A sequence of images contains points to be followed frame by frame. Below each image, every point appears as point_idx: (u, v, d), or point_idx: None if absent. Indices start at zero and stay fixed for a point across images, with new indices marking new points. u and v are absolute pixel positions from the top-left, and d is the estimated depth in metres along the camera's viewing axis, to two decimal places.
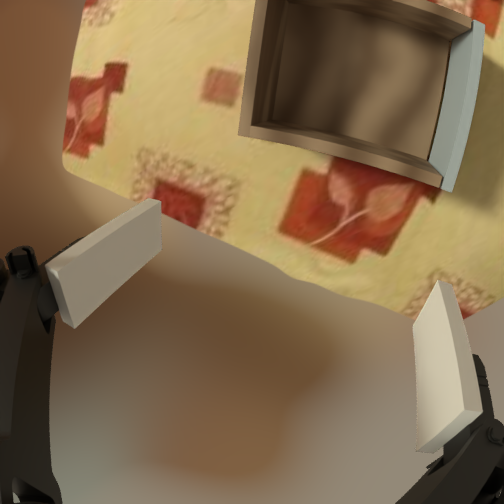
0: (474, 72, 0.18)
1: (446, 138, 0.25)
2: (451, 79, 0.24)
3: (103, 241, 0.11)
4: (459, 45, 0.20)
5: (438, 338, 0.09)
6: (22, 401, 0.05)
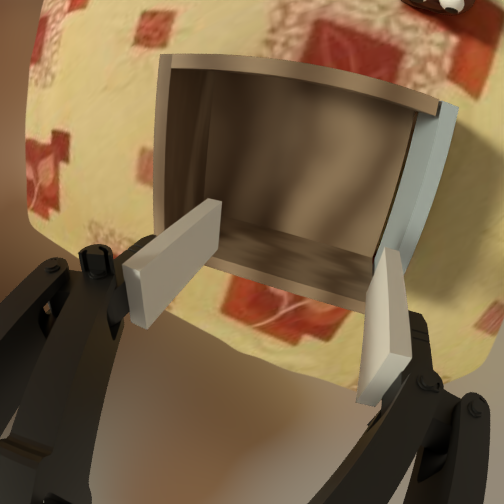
0: (430, 181, 0.18)
1: None
2: (408, 169, 0.23)
3: (178, 240, 0.11)
4: (423, 126, 0.20)
5: (379, 296, 0.11)
6: (72, 414, 0.05)
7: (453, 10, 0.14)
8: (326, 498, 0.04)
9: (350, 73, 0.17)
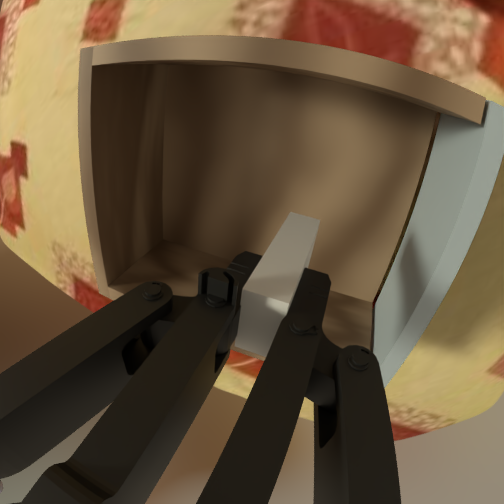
0: (466, 226, 0.11)
1: (394, 308, 0.18)
2: (427, 195, 0.16)
3: None
4: (451, 135, 0.13)
5: None
6: (150, 454, 0.05)
7: None
8: (220, 457, 0.05)
9: (344, 51, 0.10)
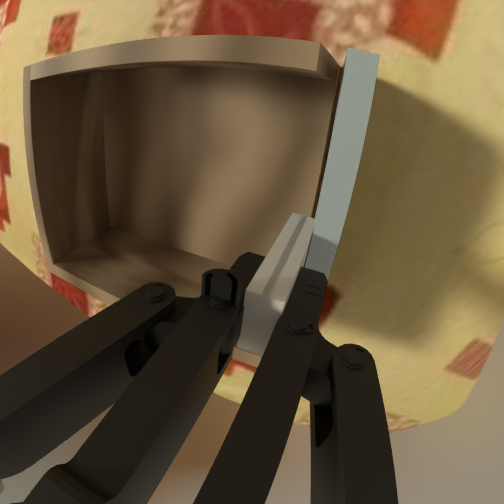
0: (337, 188, 0.12)
1: None
2: (325, 168, 0.17)
3: None
4: (338, 100, 0.14)
5: None
6: (152, 455, 0.05)
7: None
8: (217, 456, 0.05)
9: (179, 38, 0.11)
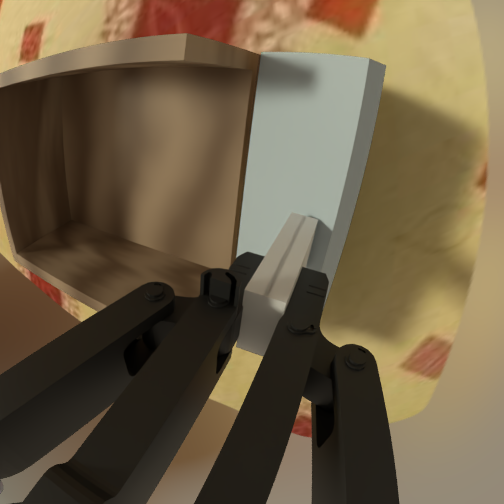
0: (352, 185, 0.13)
1: None
2: (267, 161, 0.17)
3: None
4: (292, 93, 0.14)
5: None
6: (152, 455, 0.05)
7: None
8: (218, 456, 0.05)
9: (87, 48, 0.11)
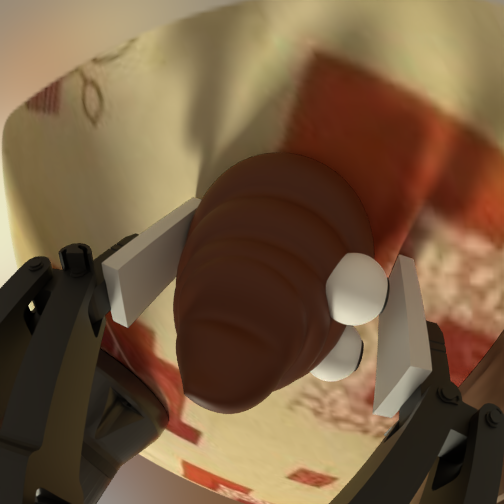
0: None
1: None
2: None
3: (158, 239, 0.11)
4: None
5: (395, 306, 0.11)
6: (59, 410, 0.05)
7: None
8: None
9: None
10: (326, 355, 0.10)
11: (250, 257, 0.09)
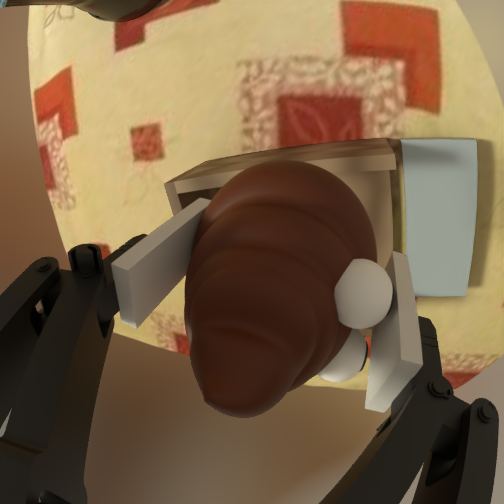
0: None
1: (447, 261, 0.29)
2: (426, 202, 0.27)
3: (167, 239, 0.11)
4: (437, 162, 0.25)
5: None
6: (65, 411, 0.05)
7: None
8: (335, 503, 0.04)
9: (316, 161, 0.23)
10: (333, 357, 0.11)
11: (263, 266, 0.09)
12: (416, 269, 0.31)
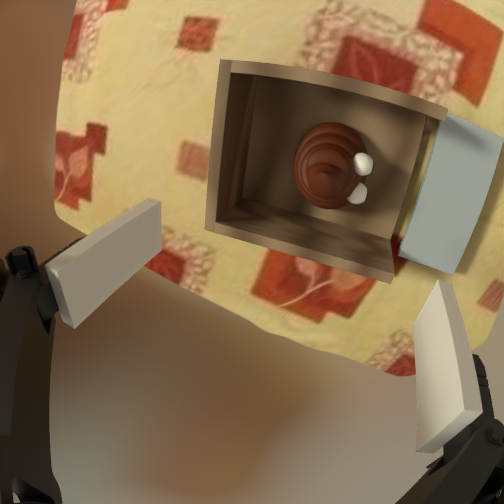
0: None
1: (447, 234, 0.30)
2: (446, 172, 0.28)
3: (103, 241, 0.11)
4: (466, 141, 0.25)
5: (438, 338, 0.09)
6: (22, 401, 0.05)
7: (373, 167, 0.28)
8: None
9: (381, 87, 0.21)
10: (354, 188, 0.29)
11: (331, 147, 0.27)
12: (418, 231, 0.32)
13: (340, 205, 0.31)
